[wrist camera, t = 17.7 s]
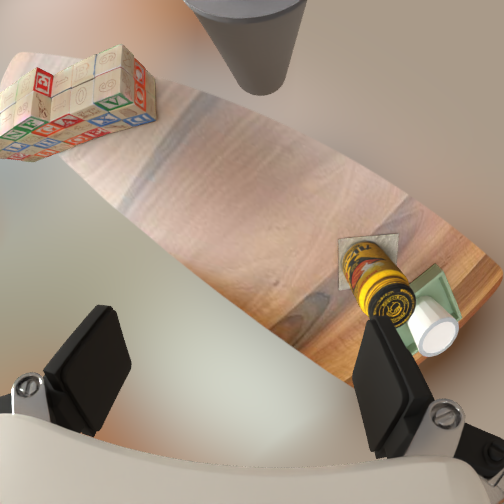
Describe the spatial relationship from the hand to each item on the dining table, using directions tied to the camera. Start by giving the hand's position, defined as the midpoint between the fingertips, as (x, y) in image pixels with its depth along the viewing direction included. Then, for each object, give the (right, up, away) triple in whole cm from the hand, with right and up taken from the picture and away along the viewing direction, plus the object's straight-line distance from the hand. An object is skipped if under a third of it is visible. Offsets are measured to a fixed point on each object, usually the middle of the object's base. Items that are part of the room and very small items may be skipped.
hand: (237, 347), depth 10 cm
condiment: (+16, +2, +27) cm, 31 cm away
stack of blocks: (-21, +21, +21) cm, 36 cm away
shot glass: (+26, -6, +29) cm, 39 cm away
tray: (+26, -6, +29) cm, 40 cm away
